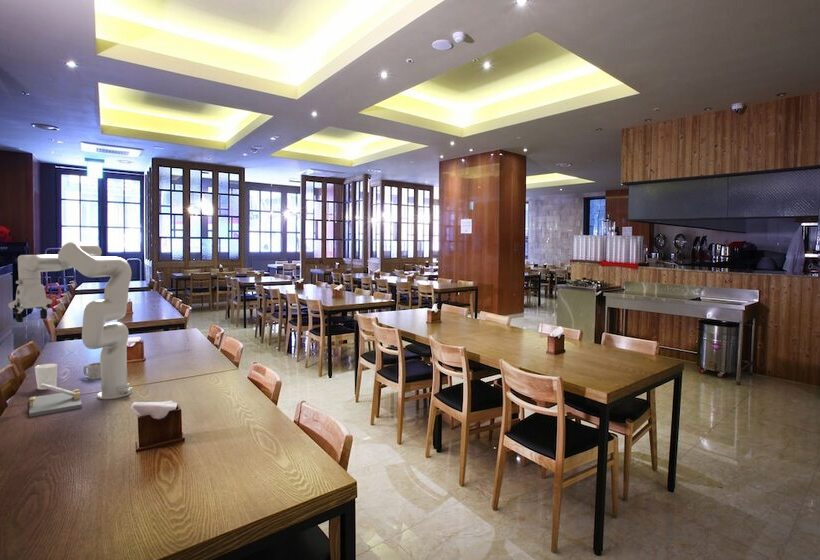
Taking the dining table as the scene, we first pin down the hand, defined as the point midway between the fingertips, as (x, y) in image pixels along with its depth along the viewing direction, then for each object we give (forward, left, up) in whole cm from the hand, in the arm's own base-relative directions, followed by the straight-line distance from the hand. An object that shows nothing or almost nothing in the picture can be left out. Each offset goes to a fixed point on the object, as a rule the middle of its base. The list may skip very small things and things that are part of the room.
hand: (32, 320), depth 202 cm
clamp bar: (-32, +14, -26) cm, 43 cm away
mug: (-12, -19, -31) cm, 38 cm away
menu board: (-32, +14, -31) cm, 46 cm away
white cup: (-6, -1, -31) cm, 31 cm away
